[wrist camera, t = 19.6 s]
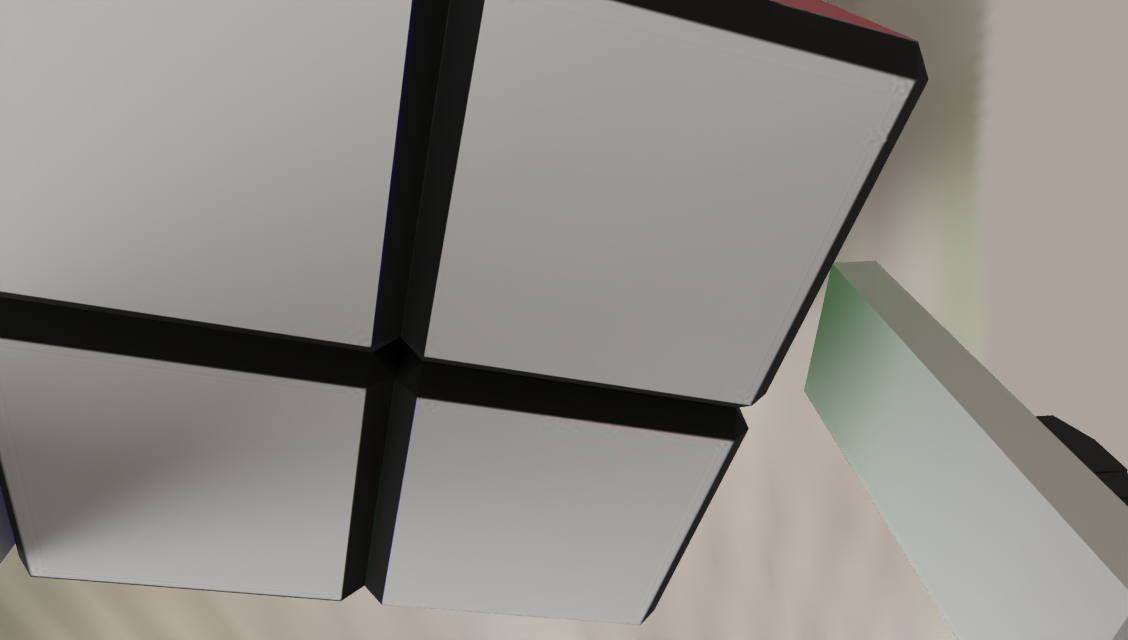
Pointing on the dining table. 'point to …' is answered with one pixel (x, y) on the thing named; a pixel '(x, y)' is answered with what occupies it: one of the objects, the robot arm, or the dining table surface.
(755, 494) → the dining table surface
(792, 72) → the puzzle cube
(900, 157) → the dining table surface
